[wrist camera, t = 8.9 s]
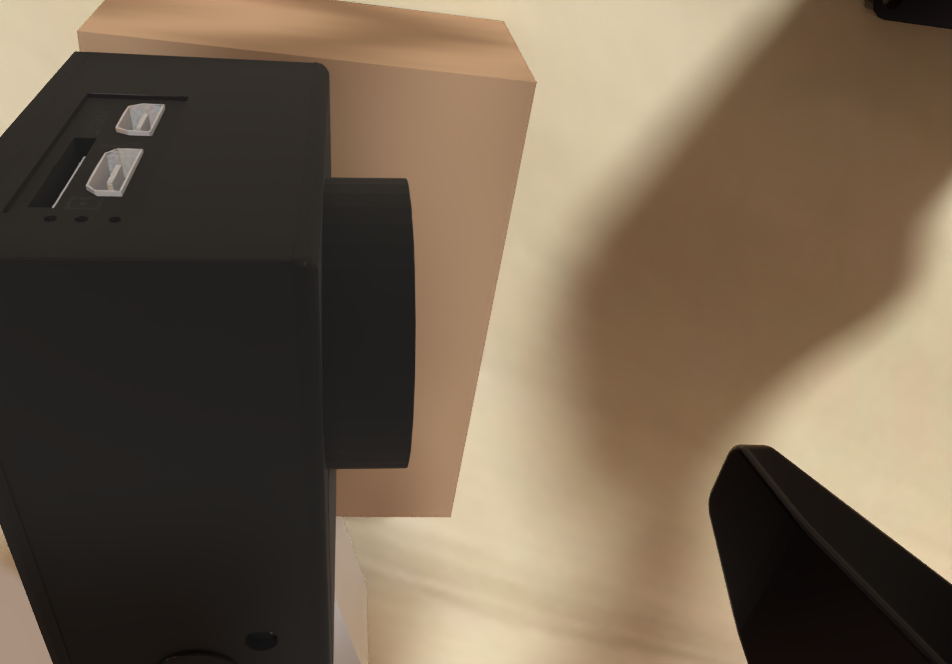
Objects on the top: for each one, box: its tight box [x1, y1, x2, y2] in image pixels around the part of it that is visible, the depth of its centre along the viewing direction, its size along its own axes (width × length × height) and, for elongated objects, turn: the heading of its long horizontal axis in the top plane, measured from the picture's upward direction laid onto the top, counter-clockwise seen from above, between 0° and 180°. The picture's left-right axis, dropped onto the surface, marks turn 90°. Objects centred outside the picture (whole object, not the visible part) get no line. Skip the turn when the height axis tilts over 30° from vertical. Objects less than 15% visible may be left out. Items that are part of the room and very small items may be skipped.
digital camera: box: [0, 52, 416, 664], centre depth 15 cm, size 10×5×7 cm, turn 175°
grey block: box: [333, 516, 369, 664], centre depth 27 cm, size 5×5×4 cm
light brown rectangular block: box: [77, 0, 536, 517], centre depth 20 cm, size 8×12×4 cm, turn 172°
